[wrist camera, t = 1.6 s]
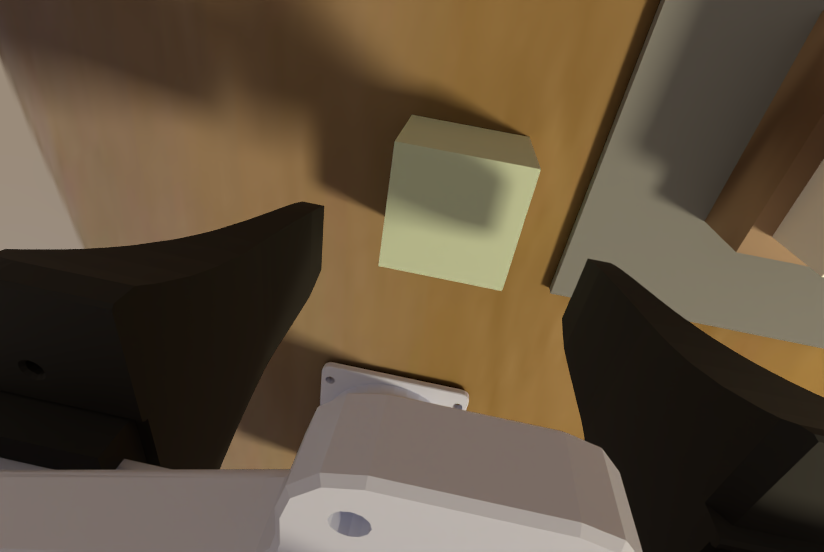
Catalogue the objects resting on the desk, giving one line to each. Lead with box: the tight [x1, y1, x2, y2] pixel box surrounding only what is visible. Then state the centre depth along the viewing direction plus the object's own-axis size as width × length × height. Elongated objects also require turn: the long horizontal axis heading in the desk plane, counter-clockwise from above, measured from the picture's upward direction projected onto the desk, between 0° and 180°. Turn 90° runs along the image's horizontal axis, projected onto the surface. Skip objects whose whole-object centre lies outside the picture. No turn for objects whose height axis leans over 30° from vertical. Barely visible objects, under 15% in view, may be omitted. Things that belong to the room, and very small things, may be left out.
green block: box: [379, 115, 541, 291], centre depth 16 cm, size 4×4×4 cm
